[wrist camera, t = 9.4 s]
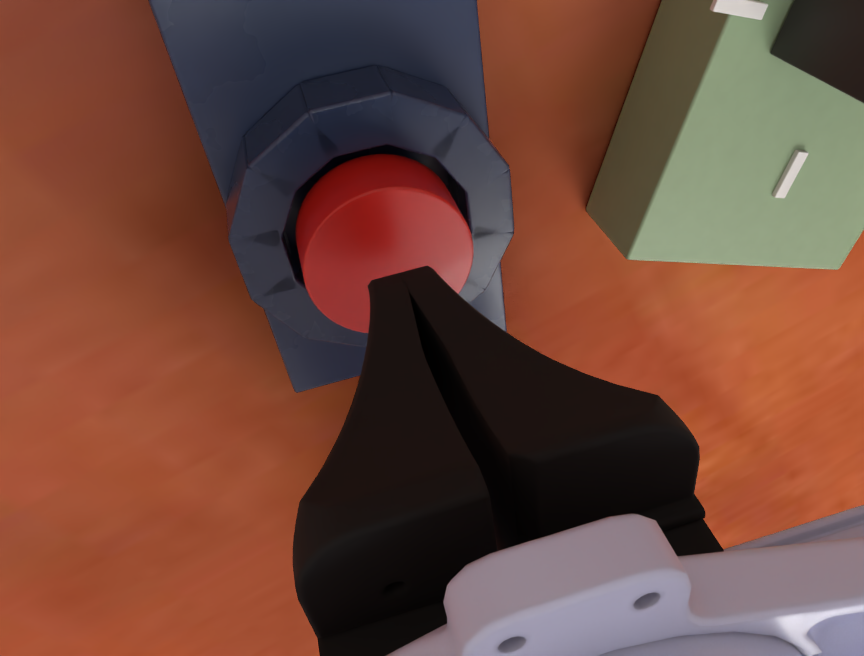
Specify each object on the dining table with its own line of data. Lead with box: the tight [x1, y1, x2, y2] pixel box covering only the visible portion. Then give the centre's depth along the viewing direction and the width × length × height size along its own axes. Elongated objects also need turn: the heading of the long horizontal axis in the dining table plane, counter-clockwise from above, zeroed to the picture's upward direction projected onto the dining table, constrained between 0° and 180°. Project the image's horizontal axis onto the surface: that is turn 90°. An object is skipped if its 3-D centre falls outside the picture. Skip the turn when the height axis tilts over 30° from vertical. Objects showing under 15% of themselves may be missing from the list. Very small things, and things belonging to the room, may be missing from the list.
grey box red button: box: [148, 0, 514, 393], centre depth 19 cm, size 12×7×4 cm, turn 8°
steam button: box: [295, 154, 473, 333], centre depth 17 cm, size 4×4×2 cm
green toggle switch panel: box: [586, 0, 864, 270], centre depth 19 cm, size 14×9×3 cm, turn 168°
